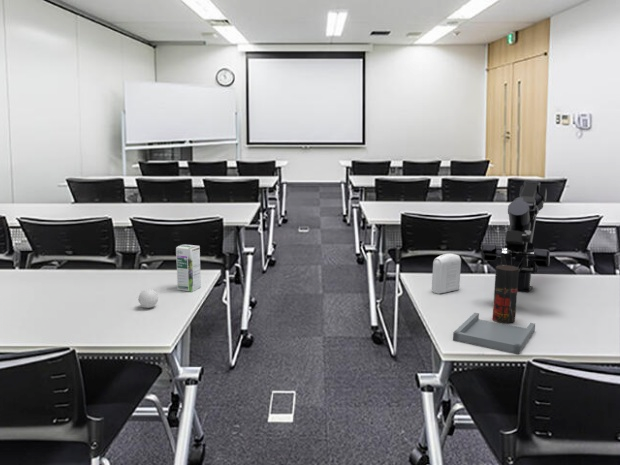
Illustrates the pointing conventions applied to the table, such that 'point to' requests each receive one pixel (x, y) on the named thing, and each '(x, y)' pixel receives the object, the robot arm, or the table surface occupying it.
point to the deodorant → (505, 294)
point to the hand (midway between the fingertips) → (510, 279)
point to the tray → (493, 334)
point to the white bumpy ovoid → (148, 298)
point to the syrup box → (188, 267)
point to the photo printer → (446, 273)
